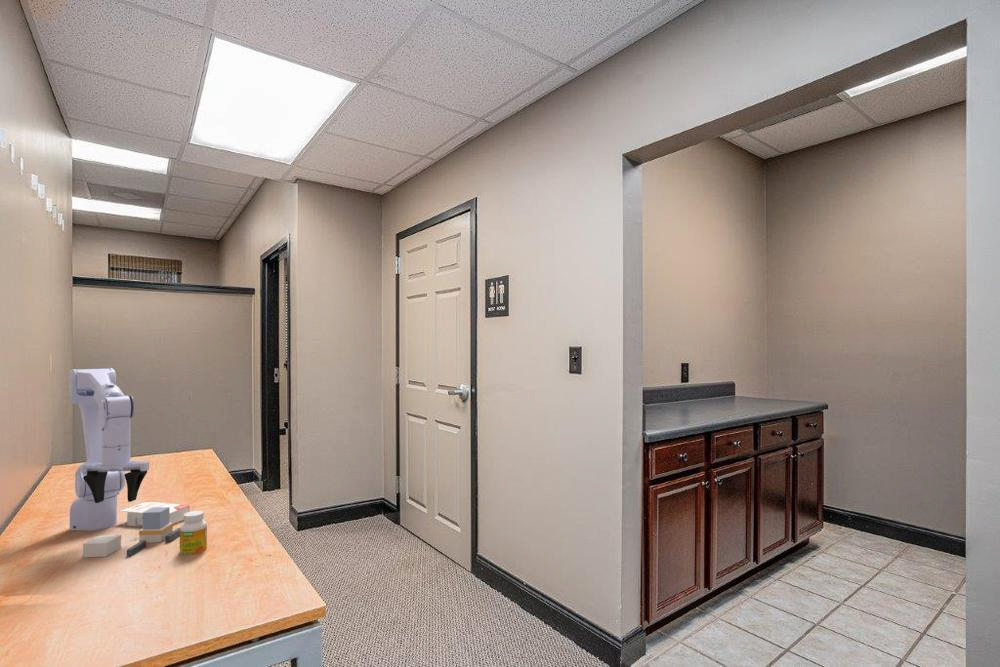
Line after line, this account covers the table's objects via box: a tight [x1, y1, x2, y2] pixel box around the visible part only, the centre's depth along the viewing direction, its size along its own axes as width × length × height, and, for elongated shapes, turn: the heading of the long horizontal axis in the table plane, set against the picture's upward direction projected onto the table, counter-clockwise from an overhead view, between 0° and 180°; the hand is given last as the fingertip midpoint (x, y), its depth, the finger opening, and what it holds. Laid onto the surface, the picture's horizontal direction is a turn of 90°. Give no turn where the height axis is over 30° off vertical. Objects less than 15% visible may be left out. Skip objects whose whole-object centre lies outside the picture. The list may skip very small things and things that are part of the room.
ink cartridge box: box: [118, 501, 191, 528], centre depth 141 cm, size 9×5×15 cm
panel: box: [124, 527, 180, 558], centre depth 124 cm, size 16×16×3 cm
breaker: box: [138, 523, 174, 544], centre depth 128 cm, size 5×5×3 cm
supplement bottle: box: [179, 510, 208, 556], centre depth 121 cm, size 5×5×10 cm
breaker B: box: [82, 534, 122, 558], centre depth 119 cm, size 5×5×3 cm
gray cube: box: [142, 507, 170, 529], centre depth 128 cm, size 4×4×4 cm
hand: (115, 501), depth 128 cm, fingers open, 7 cm apart
